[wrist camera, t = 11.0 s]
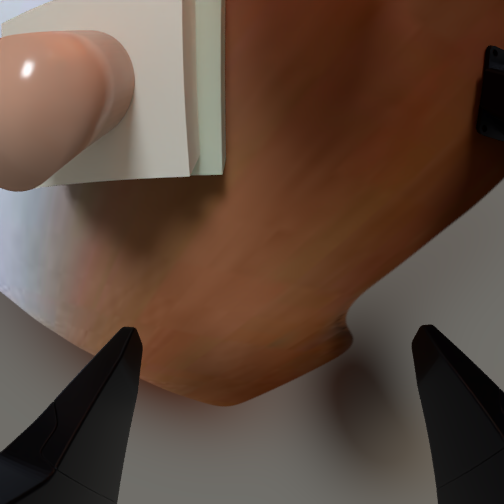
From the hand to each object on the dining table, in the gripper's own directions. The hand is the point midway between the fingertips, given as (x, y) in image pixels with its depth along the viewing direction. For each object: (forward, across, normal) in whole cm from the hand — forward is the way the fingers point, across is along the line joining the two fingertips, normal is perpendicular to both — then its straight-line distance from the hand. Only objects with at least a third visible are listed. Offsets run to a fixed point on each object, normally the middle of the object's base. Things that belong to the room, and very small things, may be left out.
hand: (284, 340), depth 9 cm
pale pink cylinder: (+6, +8, -7) cm, 12 cm away
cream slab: (+10, +8, -7) cm, 14 cm away
